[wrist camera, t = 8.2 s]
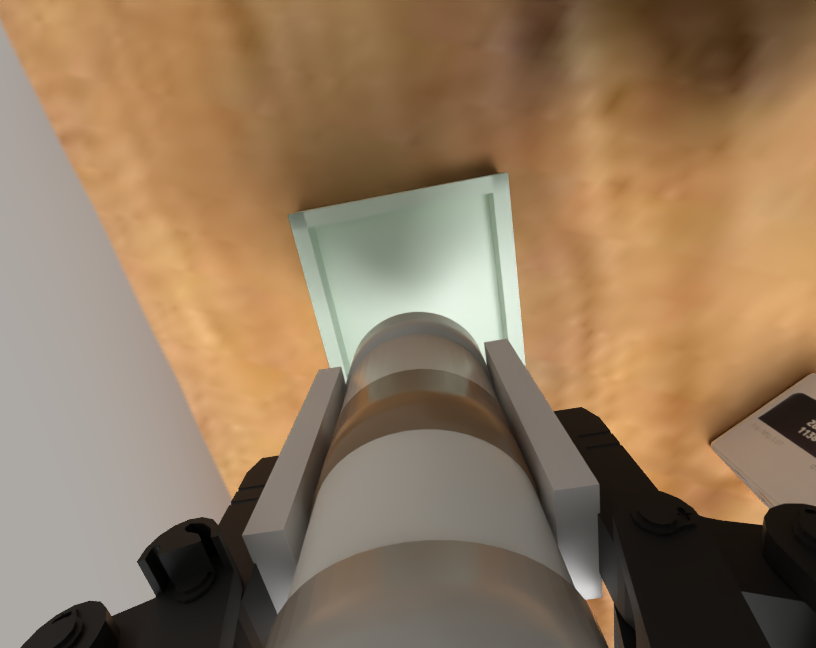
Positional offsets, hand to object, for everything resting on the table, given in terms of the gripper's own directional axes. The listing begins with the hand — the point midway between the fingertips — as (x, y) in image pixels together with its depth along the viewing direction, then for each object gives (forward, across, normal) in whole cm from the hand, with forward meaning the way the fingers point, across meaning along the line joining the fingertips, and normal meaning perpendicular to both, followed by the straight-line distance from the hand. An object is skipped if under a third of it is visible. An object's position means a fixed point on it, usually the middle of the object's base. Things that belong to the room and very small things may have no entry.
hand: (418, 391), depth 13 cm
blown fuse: (+1, 0, 0) cm, 1 cm away
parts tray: (+11, 0, 0) cm, 11 cm away
